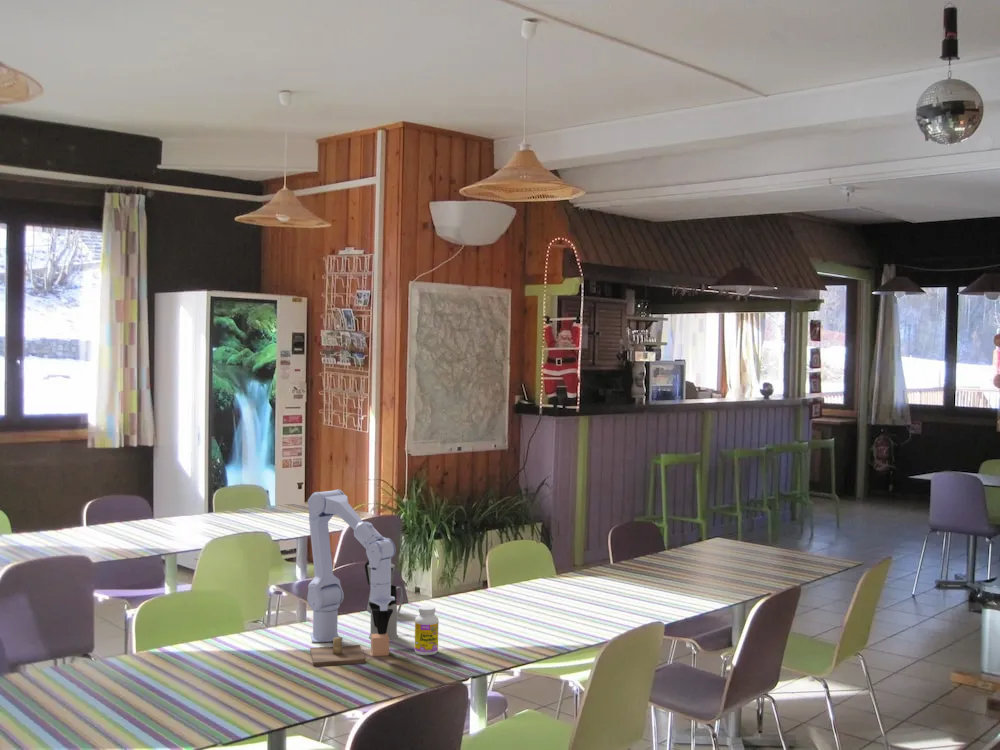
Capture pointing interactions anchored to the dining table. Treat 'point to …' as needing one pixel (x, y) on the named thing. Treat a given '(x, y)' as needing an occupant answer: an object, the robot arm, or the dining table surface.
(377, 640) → the peach tilted cube
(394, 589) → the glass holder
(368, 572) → the coffeepot
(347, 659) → the post base
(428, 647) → the supplement bottle
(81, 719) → the dining table surface
